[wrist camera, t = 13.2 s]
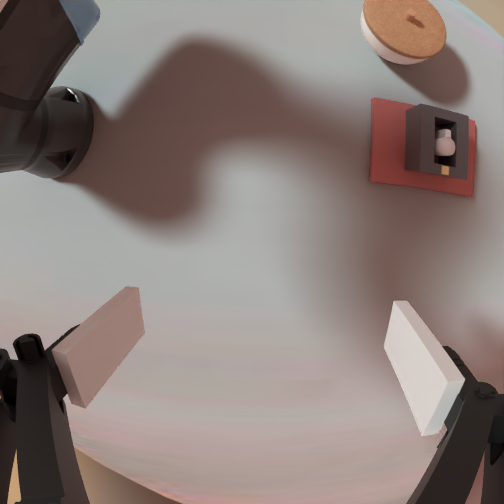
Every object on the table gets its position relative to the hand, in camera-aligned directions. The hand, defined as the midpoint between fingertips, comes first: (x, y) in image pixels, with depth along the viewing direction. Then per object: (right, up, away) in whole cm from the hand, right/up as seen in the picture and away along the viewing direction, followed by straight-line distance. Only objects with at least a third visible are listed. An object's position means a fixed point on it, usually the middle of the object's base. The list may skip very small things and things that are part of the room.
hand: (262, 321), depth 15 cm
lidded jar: (+18, +32, +16) cm, 41 cm away
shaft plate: (+23, +17, +20) cm, 35 cm away
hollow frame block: (+23, +17, +19) cm, 34 cm away
